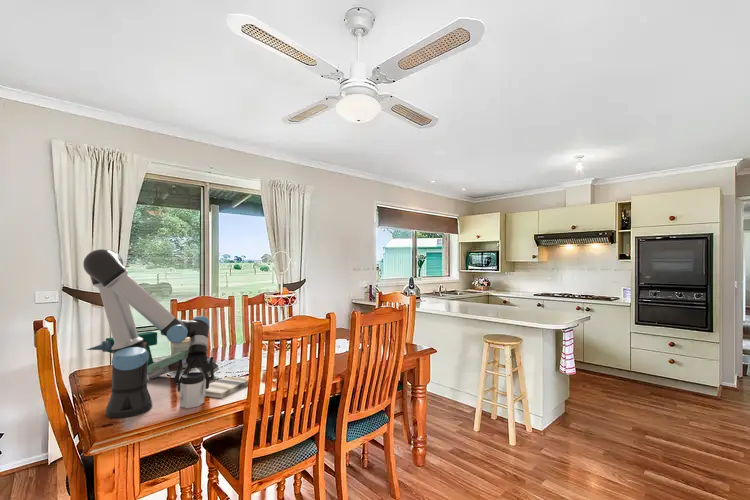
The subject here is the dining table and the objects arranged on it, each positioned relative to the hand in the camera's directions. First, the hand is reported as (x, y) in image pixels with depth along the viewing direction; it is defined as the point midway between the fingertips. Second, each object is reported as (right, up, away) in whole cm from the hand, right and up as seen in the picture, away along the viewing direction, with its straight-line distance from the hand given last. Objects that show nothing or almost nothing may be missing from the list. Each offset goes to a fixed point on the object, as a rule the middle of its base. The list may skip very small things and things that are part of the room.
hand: (192, 397), depth 149 cm
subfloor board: (+4, -4, +21) cm, 22 cm away
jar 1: (-34, -6, +59) cm, 68 cm away
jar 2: (-2, -4, +3) cm, 5 cm away
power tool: (-55, -5, +39) cm, 68 cm away
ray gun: (-23, -5, +37) cm, 44 cm away
